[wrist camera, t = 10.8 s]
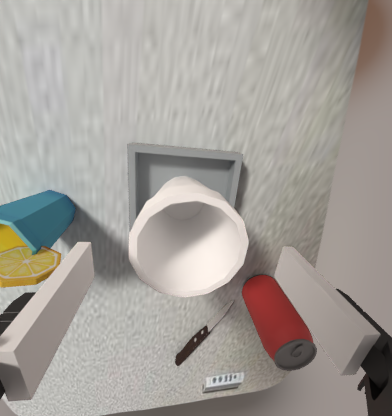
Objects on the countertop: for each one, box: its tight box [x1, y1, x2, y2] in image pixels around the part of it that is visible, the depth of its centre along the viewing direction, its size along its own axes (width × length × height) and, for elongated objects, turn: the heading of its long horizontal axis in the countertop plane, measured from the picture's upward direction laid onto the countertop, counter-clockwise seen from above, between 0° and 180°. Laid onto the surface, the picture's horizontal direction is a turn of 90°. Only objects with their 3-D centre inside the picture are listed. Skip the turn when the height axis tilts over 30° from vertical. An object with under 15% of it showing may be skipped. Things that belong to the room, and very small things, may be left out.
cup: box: [0, 190, 76, 288], centre depth 20 cm, size 14×8×15 cm, turn 90°
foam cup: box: [129, 176, 249, 297], centre depth 22 cm, size 10×9×13 cm
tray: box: [127, 143, 243, 232], centre depth 27 cm, size 14×14×3 cm
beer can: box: [242, 275, 317, 371], centre depth 31 cm, size 7×7×12 cm
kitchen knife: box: [175, 300, 234, 366], centre depth 38 cm, size 18×1×2 cm, turn 144°
